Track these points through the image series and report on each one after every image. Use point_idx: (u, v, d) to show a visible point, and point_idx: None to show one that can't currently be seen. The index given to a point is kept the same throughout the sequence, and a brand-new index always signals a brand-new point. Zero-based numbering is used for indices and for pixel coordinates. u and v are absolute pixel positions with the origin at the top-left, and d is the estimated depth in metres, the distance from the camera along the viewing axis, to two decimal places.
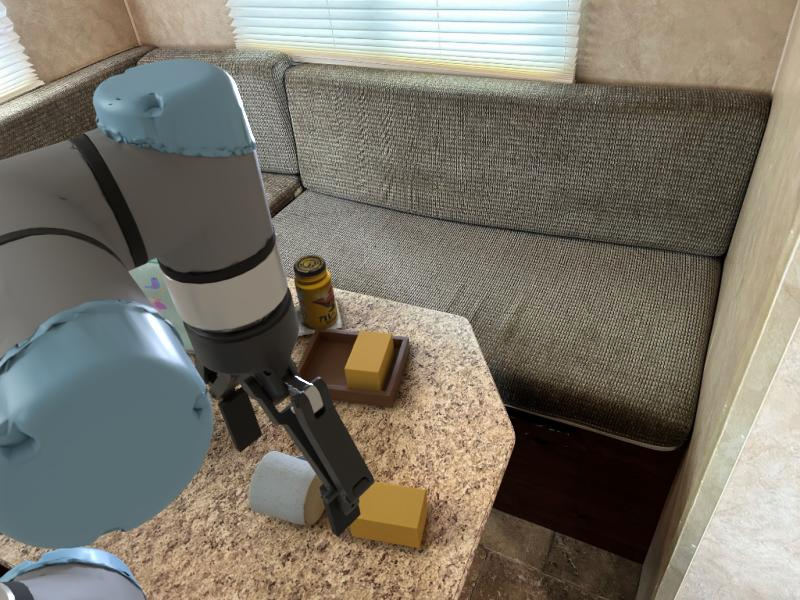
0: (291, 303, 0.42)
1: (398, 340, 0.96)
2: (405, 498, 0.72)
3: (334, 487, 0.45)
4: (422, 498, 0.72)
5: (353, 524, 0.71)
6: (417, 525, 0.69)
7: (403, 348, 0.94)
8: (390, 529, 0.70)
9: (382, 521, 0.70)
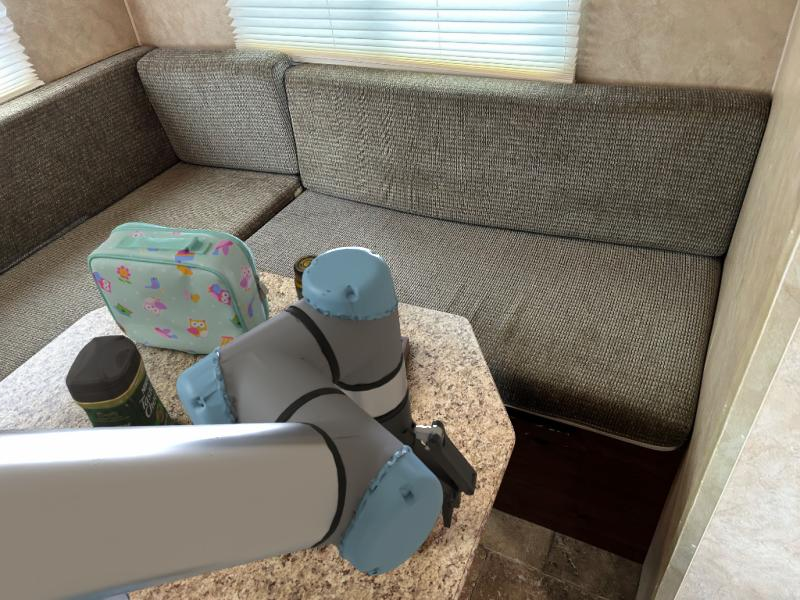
0: None
1: None
2: None
3: (455, 489, 0.65)
4: None
5: None
6: None
7: (403, 348, 0.94)
8: None
9: None
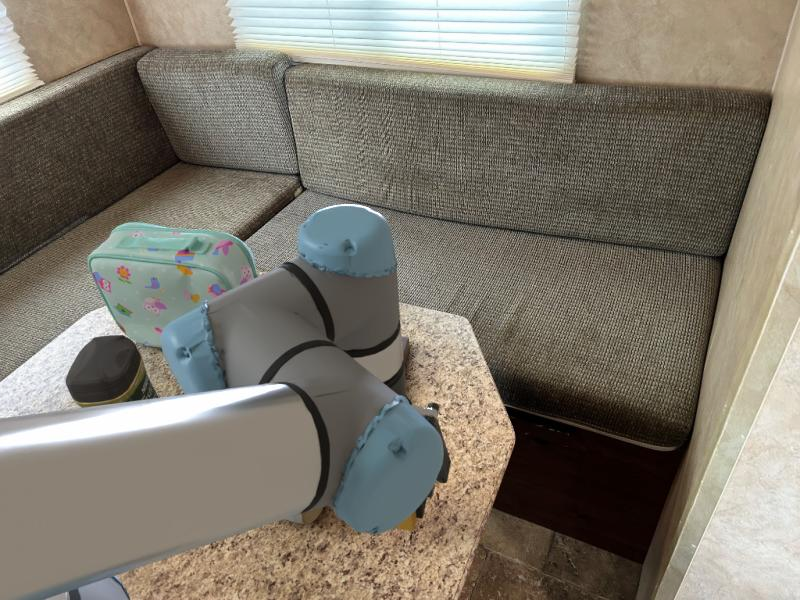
0: None
1: None
2: None
3: None
4: None
5: None
6: None
7: (403, 348, 0.94)
8: None
9: None
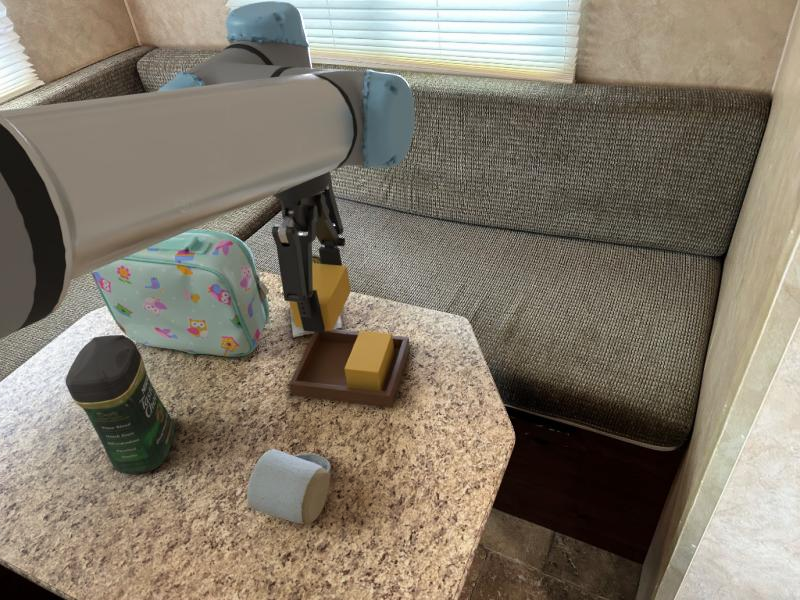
0: None
1: (398, 340, 0.96)
2: (320, 293, 0.78)
3: None
4: None
5: None
6: None
7: (403, 348, 0.94)
8: None
9: None
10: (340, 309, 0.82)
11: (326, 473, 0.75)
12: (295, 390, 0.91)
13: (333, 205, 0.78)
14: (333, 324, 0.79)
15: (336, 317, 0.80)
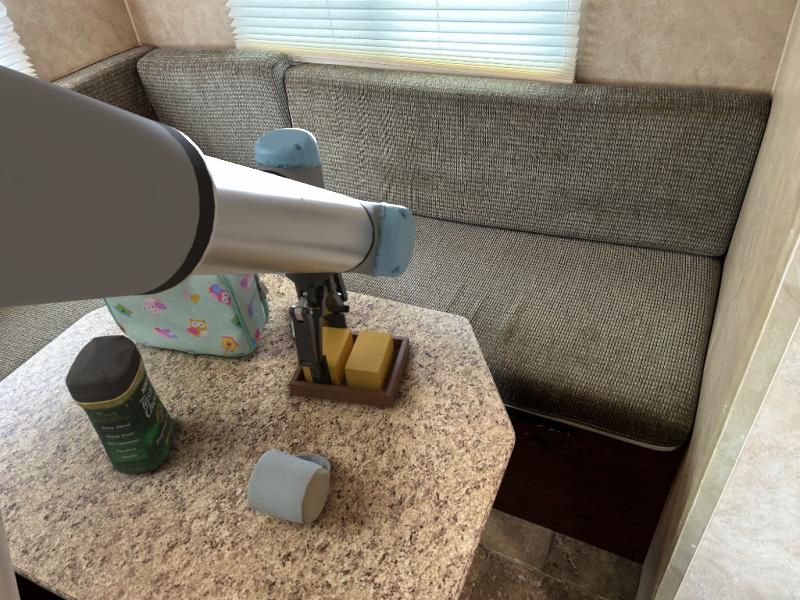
0: None
1: (398, 340, 0.96)
2: (328, 355, 0.91)
3: None
4: None
5: None
6: None
7: (403, 348, 0.94)
8: None
9: None
10: None
11: (326, 473, 0.75)
12: (295, 390, 0.91)
13: (339, 279, 0.91)
14: (339, 381, 0.92)
15: (342, 375, 0.93)
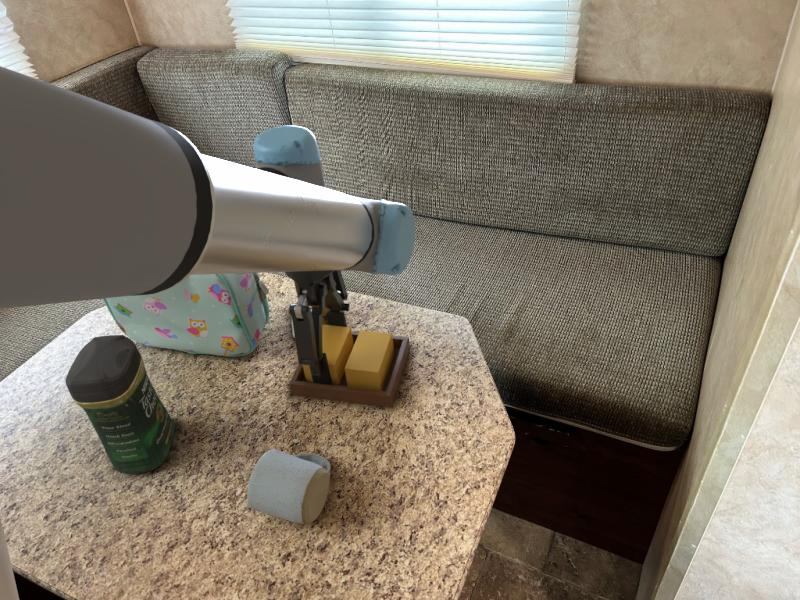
0: None
1: (398, 340, 0.96)
2: (328, 353, 0.91)
3: None
4: None
5: None
6: None
7: (403, 348, 0.94)
8: None
9: None
10: (345, 365, 0.94)
11: (326, 473, 0.75)
12: (295, 390, 0.91)
13: (339, 277, 0.91)
14: (339, 380, 0.92)
15: (342, 373, 0.92)
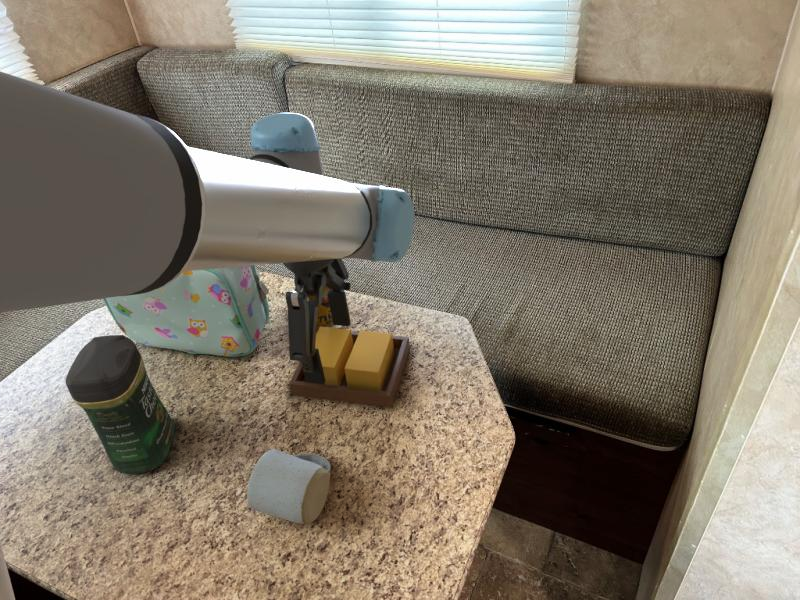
0: None
1: (398, 340, 0.96)
2: (328, 355, 0.91)
3: None
4: (326, 365, 0.89)
5: None
6: None
7: (403, 348, 0.94)
8: None
9: None
10: None
11: (326, 473, 0.75)
12: (295, 390, 0.91)
13: (338, 262, 0.90)
14: (339, 382, 0.92)
15: (342, 375, 0.93)
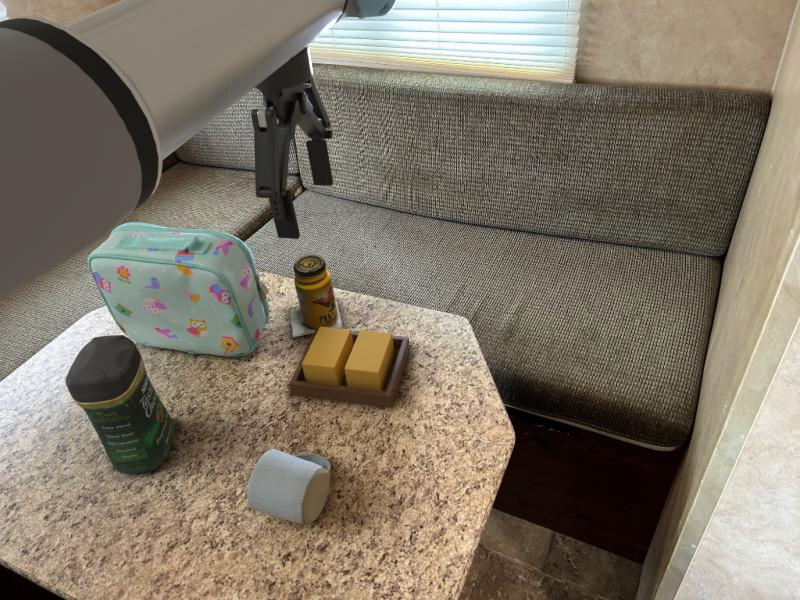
0: (287, 60, 0.66)
1: (398, 340, 0.96)
2: (328, 355, 0.91)
3: None
4: (326, 365, 0.89)
5: None
6: (304, 364, 0.90)
7: (403, 348, 0.94)
8: None
9: (311, 344, 0.93)
10: None
11: (326, 473, 0.75)
12: (295, 390, 0.91)
13: (317, 101, 0.79)
14: (339, 382, 0.92)
15: (342, 375, 0.93)
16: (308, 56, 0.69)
